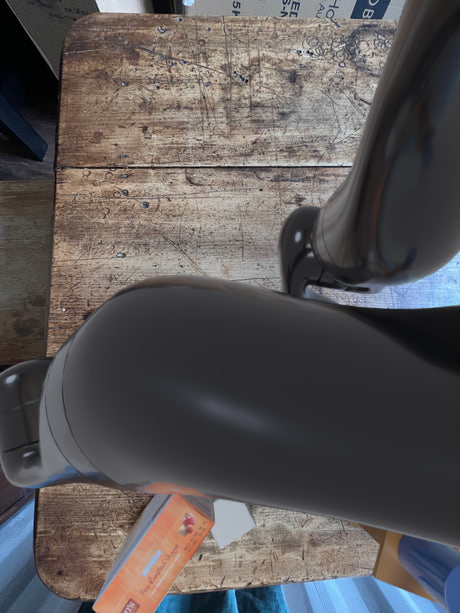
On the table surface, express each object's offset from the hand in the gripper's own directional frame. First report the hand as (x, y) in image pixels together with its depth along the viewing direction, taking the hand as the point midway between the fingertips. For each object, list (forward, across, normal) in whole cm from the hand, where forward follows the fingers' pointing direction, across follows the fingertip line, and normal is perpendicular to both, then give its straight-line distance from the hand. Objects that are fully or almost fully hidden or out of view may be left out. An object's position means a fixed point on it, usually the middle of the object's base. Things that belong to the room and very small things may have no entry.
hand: (270, 464), depth 52 cm
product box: (+13, -5, +2) cm, 14 cm away
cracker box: (+14, -13, +1) cm, 19 cm away
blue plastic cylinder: (-5, +15, -12) cm, 19 cm away
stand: (+11, +15, +4) cm, 19 cm away
